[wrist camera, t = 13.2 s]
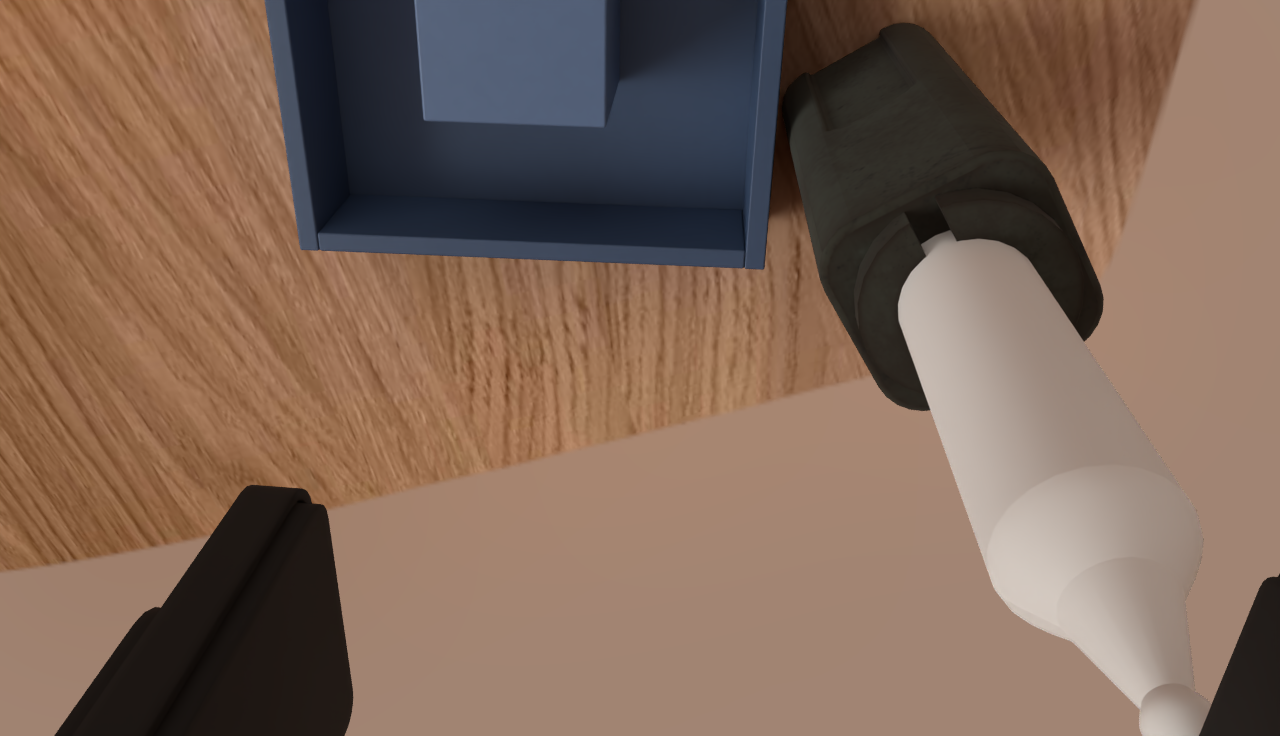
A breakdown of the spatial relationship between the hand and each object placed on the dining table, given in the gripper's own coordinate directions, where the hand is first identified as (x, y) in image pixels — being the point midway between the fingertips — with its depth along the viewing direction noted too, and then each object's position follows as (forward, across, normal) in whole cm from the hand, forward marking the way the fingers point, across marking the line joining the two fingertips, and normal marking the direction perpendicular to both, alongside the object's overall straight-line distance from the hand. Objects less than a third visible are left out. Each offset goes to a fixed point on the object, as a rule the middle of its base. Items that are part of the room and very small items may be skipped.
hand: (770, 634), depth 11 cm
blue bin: (+25, +6, -2) cm, 26 cm away
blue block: (+25, +7, -2) cm, 26 cm away
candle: (+26, -4, +2) cm, 26 cm away
